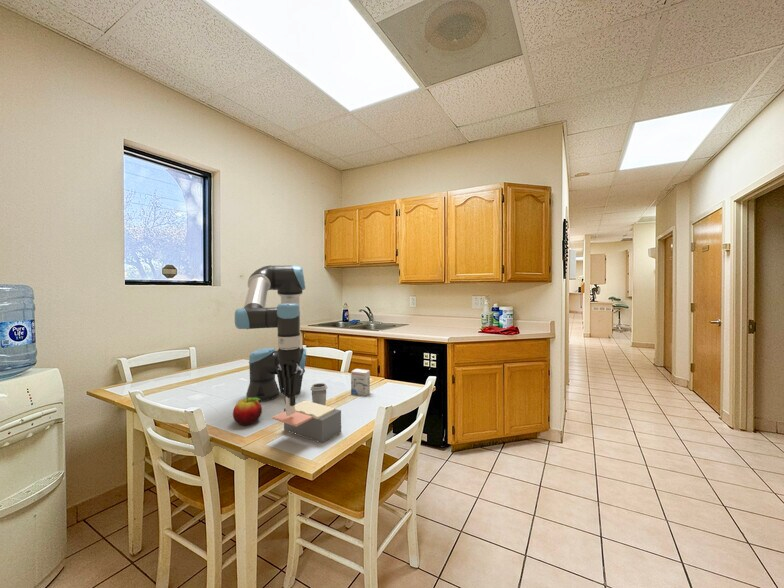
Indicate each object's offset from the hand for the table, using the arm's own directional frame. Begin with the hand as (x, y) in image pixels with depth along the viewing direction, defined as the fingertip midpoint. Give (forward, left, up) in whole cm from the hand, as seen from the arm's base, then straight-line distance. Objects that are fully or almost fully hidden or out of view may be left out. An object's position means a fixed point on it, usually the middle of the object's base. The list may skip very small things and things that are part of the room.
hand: (290, 414), depth 115 cm
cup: (-10, +24, -11) cm, 28 cm away
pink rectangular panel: (0, +1, -2) cm, 2 cm away
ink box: (-9, +52, -11) cm, 54 cm away
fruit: (-28, +2, -11) cm, 30 cm away
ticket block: (0, +10, -10) cm, 15 cm away
